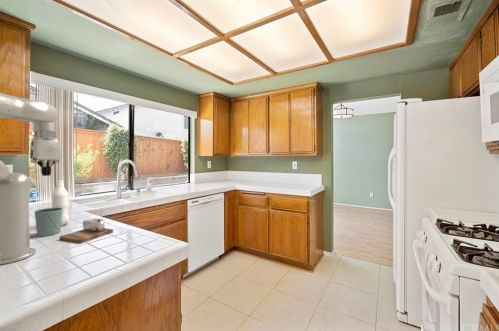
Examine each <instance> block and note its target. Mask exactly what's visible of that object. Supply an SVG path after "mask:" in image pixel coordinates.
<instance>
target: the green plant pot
mask: <svg viewBox="0 0 499 331" xmlns="http://www.w3.org/2000/svg"><path fill="white" fill-rule="evenodd" d="M34 216H35V219H34V220H35V227H36V236H37V237H38V238H44V237H51V236H55V235H58V234H60V233H61V231H62V230H61V228H62V226H61V217H62V208H52V207H49V208H48V207H47V208H41V209H40V208H39V209H37V210H34Z"/></svg>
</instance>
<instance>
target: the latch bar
mask: <svg viewBox="0 0 499 331" xmlns="http://www.w3.org/2000/svg"><path fill="white" fill-rule="evenodd" d="M98 219H99V220H98V221H96V220H92V219H86V220H82V230H83V229H86V230H92V231H96V232H100V231H104V230H105V228H106V227H105V220H104V219H103V220H102V218H98Z"/></svg>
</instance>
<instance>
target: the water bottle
mask: <svg viewBox="0 0 499 331" xmlns="http://www.w3.org/2000/svg"><path fill="white" fill-rule="evenodd" d="M64 185H65V184H64V179H57V180H56V181H55V188H54V190H53V191H52V193H51V208H62V217H61V227H63V226H68V224H69V223H70V217H69V206H70V204H69V191H67V189H66V188H65V186H64Z"/></svg>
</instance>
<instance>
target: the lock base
mask: <svg viewBox="0 0 499 331" xmlns="http://www.w3.org/2000/svg"><path fill="white" fill-rule="evenodd" d="M99 219H100V218H93V219H91V220H96V221H98V220H99ZM101 219H102V218H101ZM102 220H104V219H102ZM113 232H114V229H112V228H108V227H107V228H106V227H105V230H104V231H100V232H96V231H92V230H86V229H83V228H82V229H80V230H76V231H73V232H70V233H67V234H64V235H61V236H59V240H60V241H65V242H71V243H77V244H83V243H87V242H89V241H90V242H91V241H92V240H95V239H98V238H100V237H104V236H106V235H110V234H113Z"/></svg>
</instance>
